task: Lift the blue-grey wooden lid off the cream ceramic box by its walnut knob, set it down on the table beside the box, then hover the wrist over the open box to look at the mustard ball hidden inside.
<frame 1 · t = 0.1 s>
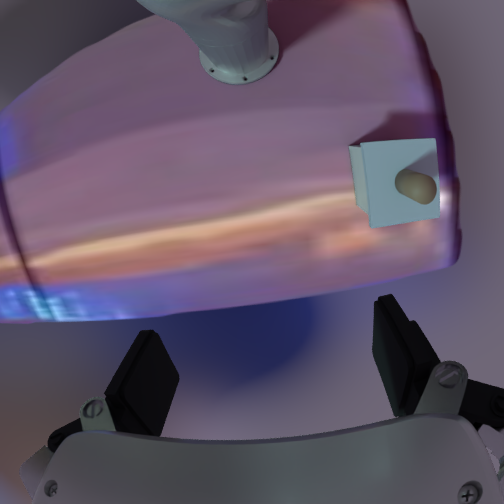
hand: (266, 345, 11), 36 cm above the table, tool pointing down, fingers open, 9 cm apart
storage box: (380, 172, 42), on the table
lid: (402, 180, 34), point 9 cm above the table, touching storage box
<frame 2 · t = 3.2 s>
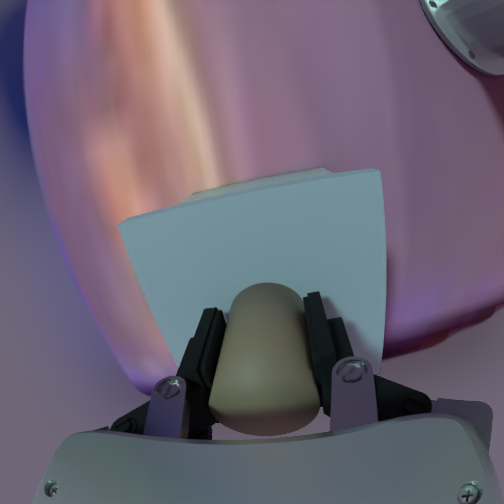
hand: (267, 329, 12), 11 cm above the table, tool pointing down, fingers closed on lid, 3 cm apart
storage box: (269, 241, 22), on the table
lid: (268, 304, 14), point 9 cm above the table, touching gripper, storage box
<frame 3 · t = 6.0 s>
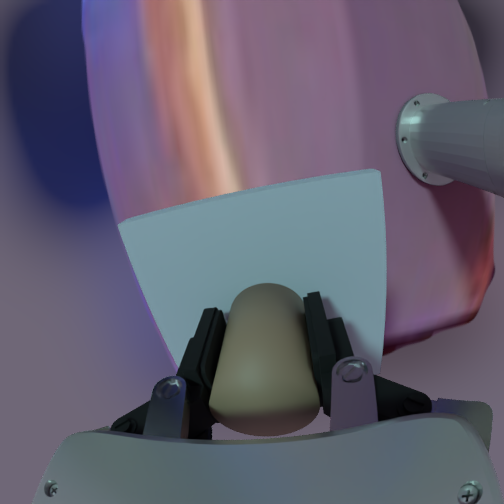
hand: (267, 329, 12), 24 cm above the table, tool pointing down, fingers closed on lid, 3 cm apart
lid: (268, 304, 14), point 22 cm above the table, touching gripper
when the fingers open (5 cm above the table, at t = 9.1 s): lid drops 3 cm, on the table.
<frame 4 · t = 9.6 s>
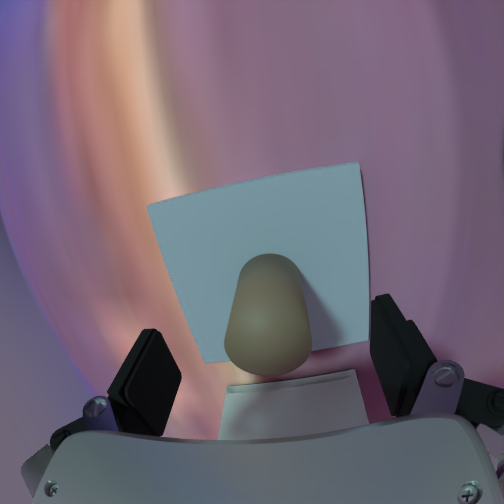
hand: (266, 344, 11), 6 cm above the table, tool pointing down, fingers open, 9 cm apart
storage box: (297, 414, 22), on the table
lid: (270, 274, 17), on the table
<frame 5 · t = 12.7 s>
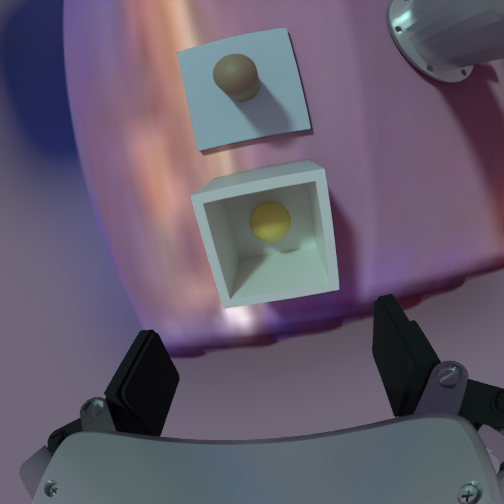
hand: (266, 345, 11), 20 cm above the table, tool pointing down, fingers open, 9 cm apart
storage box: (270, 214, 30), on the table
lid: (242, 86, 25), on the table
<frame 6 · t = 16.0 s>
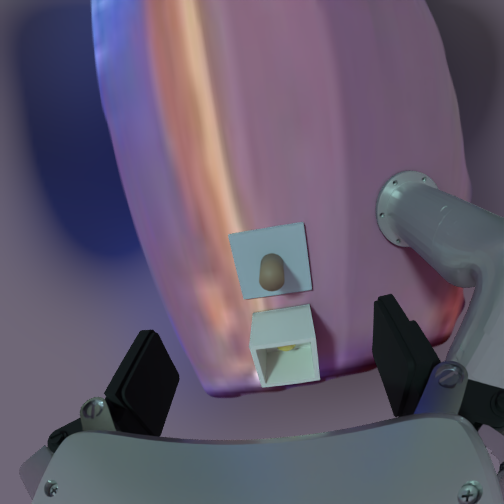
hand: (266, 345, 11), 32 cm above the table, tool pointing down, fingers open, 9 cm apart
storage box: (285, 330, 50), on the table
lid: (272, 261, 46), on the table
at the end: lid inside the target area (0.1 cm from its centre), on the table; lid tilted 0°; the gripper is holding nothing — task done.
